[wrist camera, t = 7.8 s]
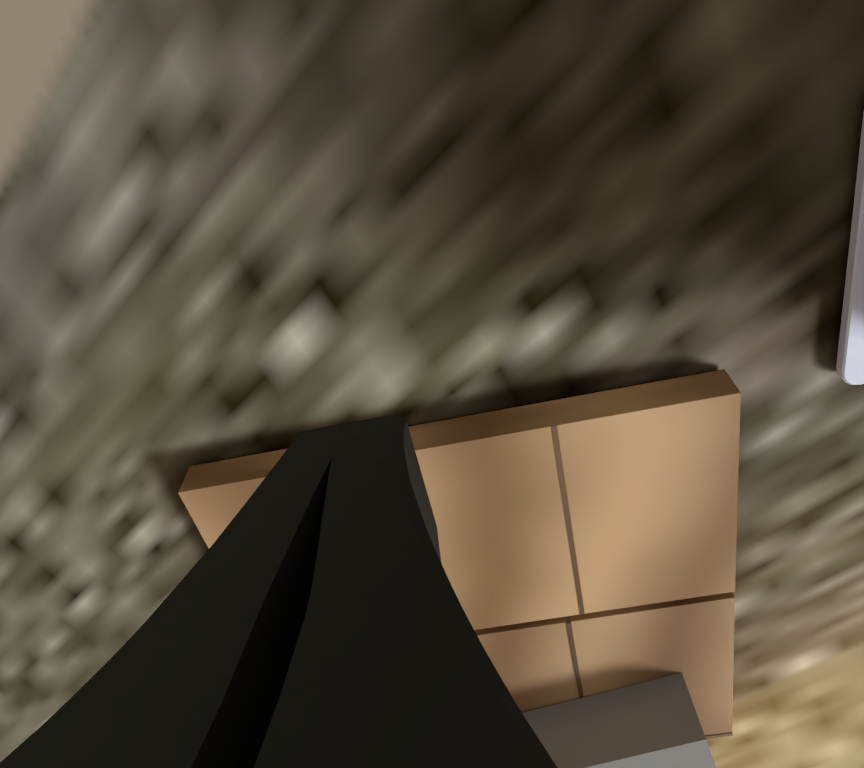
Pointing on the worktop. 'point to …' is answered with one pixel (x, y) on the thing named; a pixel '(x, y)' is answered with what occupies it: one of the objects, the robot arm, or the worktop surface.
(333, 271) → the worktop surface
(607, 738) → the block
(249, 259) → the worktop surface
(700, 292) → the worktop surface
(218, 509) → the board
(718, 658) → the laid strip
